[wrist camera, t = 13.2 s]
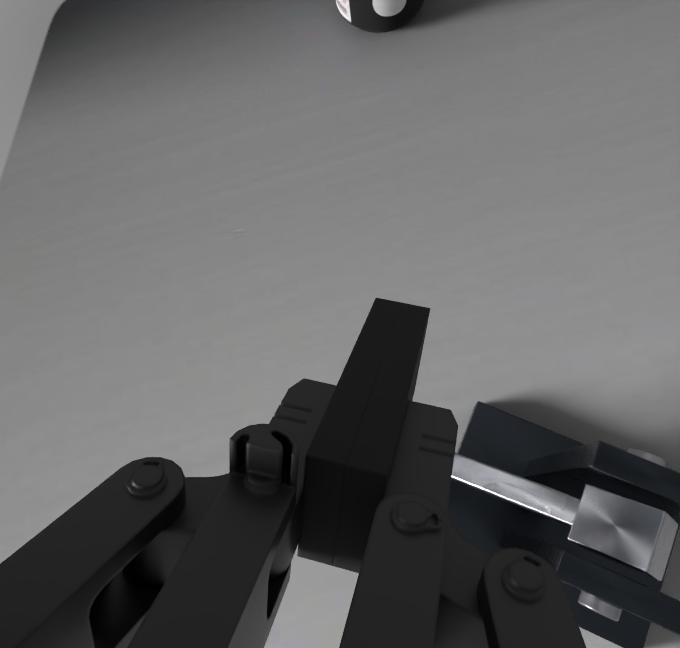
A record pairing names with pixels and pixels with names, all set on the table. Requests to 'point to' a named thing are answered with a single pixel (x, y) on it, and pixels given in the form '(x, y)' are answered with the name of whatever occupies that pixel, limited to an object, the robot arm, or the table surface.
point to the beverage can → (378, 13)
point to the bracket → (552, 537)
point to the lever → (585, 516)
